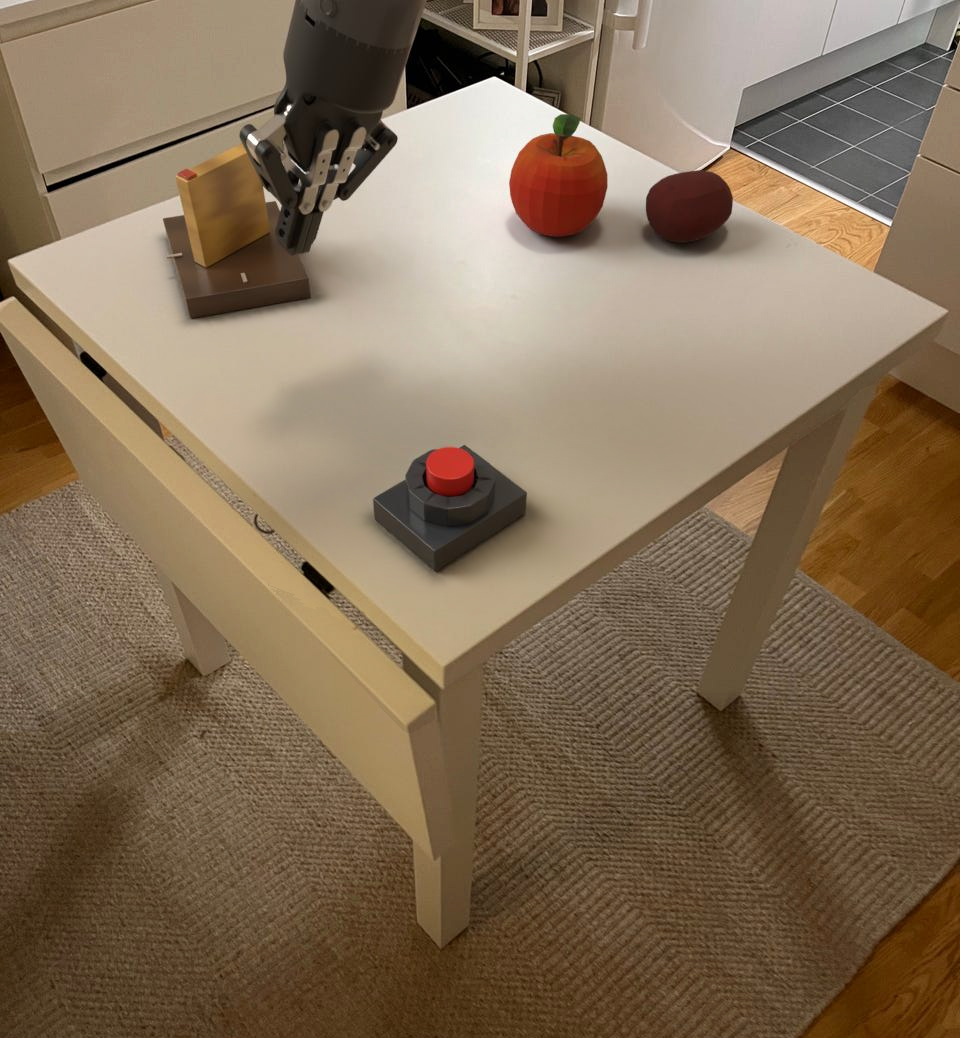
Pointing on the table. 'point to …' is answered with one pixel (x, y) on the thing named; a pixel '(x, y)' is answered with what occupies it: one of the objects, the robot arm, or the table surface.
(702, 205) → the potato
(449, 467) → the button
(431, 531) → the button block
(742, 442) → the table surface
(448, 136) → the table surface
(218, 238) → the wooden block
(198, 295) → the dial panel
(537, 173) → the fruit
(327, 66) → the robot arm
